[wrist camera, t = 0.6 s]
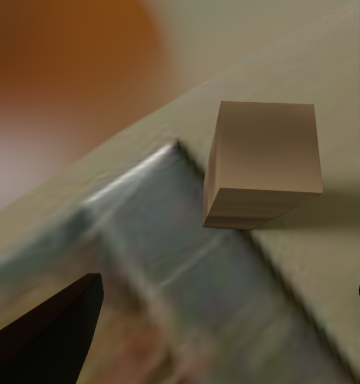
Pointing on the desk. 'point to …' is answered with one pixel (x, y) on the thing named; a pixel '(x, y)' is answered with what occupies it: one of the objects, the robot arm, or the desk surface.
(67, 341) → the robot arm
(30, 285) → the desk surface
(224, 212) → the peg
